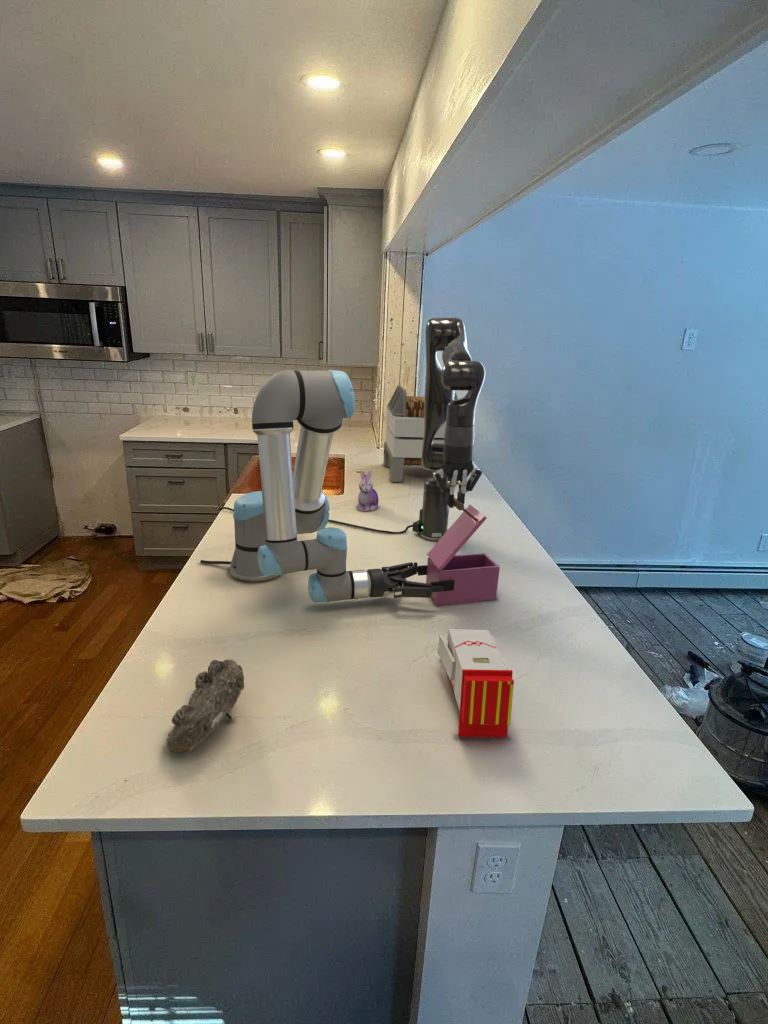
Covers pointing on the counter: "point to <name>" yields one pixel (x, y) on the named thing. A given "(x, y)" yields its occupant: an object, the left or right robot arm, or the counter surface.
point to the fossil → (206, 705)
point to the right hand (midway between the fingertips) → (455, 506)
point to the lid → (456, 535)
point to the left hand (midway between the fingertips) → (446, 576)
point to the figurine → (367, 493)
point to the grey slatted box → (405, 433)
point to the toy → (478, 682)
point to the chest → (465, 579)
